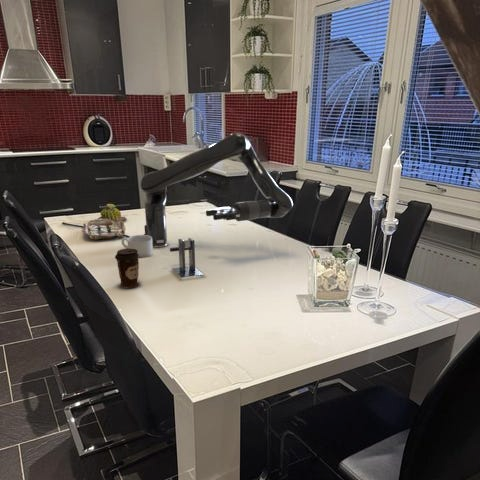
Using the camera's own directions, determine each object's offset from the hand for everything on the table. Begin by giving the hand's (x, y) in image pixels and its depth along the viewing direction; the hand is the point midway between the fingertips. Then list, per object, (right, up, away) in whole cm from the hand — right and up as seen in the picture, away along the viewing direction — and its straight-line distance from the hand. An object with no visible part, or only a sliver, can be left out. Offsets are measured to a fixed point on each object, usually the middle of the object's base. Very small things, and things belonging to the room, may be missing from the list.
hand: (209, 215), depth 187 cm
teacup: (-33, -14, +19) cm, 40 cm away
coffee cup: (-28, -30, -17) cm, 44 cm away
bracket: (-8, -24, -4) cm, 26 cm away
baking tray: (-57, +1, +51) cm, 77 cm away
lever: (-10, -14, -5) cm, 18 cm away
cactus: (-61, +15, +81) cm, 103 cm away
